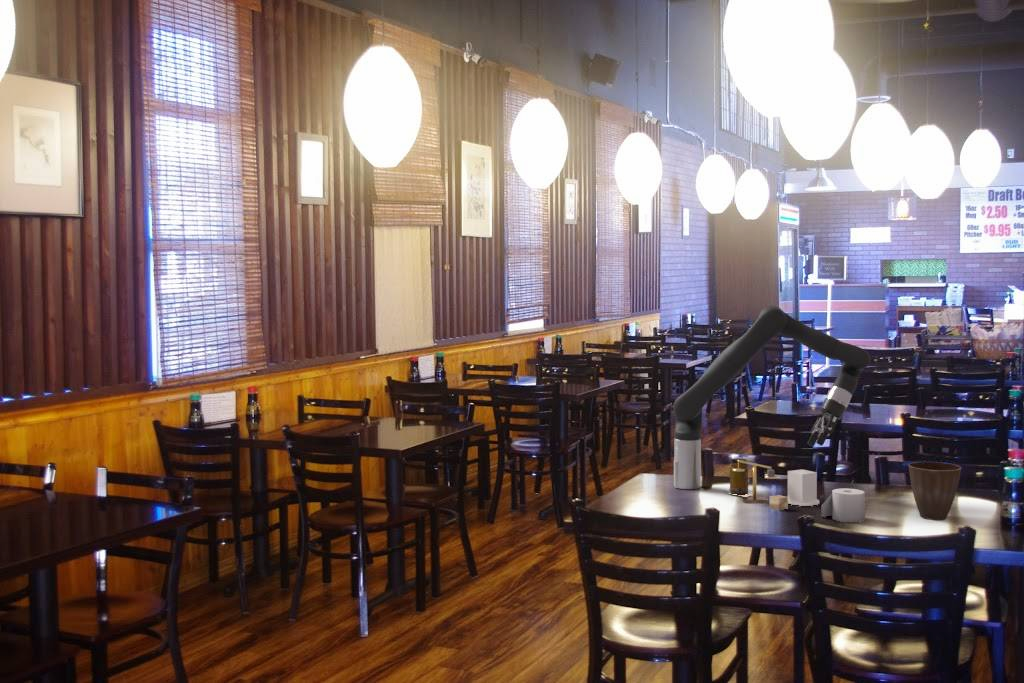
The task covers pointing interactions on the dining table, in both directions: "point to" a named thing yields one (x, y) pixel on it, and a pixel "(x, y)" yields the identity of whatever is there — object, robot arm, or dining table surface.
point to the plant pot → (934, 487)
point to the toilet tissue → (845, 505)
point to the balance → (769, 475)
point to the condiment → (738, 478)
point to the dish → (806, 503)
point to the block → (778, 502)
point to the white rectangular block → (802, 485)
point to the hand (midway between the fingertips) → (814, 444)
